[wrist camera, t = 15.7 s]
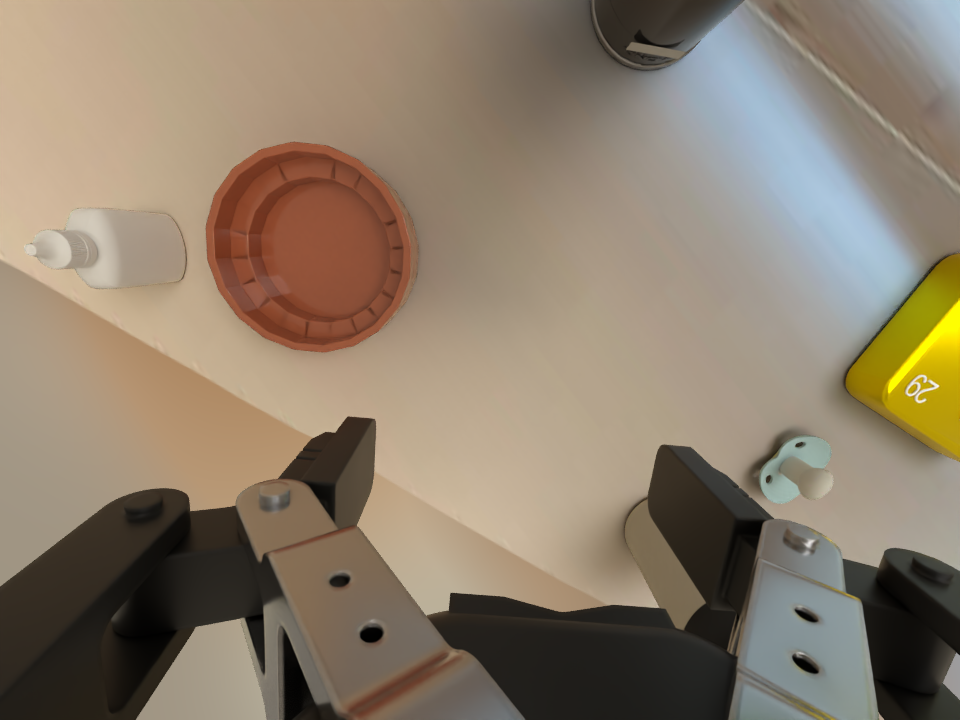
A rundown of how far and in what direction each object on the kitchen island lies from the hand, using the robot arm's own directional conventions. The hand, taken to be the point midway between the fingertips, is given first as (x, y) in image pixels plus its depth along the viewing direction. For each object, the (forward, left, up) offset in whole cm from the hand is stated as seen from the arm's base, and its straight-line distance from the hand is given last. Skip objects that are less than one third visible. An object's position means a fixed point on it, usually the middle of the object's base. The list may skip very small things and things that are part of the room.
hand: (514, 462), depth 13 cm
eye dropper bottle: (-3, -28, -28) cm, 40 cm away
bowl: (-4, -14, -28) cm, 32 cm away
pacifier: (+12, +31, -28) cm, 44 cm away
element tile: (0, +43, -28) cm, 51 cm away
